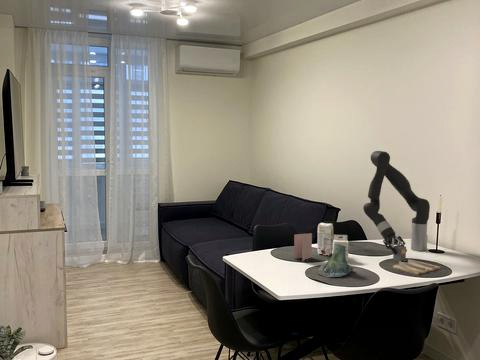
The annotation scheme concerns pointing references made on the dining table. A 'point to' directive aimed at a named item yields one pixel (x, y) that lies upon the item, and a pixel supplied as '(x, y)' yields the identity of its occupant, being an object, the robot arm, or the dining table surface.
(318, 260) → the dining table surface
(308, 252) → the greeting card
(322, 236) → the juice carton
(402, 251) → the module
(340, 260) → the tree stump
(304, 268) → the dining table surface
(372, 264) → the dining table surface
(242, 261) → the dining table surface
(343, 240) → the ink cartridge box
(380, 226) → the robot arm
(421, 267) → the rail board
